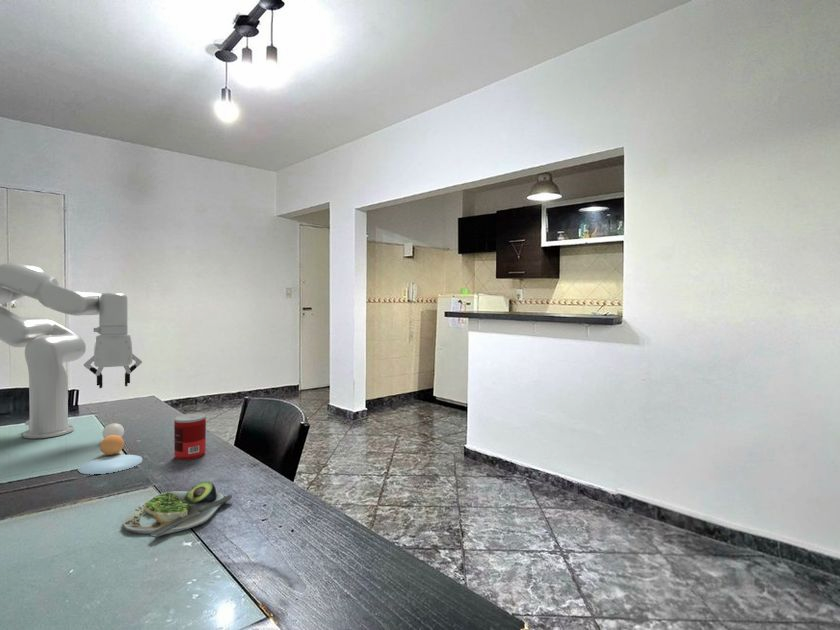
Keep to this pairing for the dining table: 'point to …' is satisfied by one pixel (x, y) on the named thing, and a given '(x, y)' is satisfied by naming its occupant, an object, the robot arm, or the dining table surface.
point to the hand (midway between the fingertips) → (113, 386)
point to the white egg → (113, 430)
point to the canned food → (190, 436)
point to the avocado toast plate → (177, 510)
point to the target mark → (110, 464)
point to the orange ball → (111, 444)
